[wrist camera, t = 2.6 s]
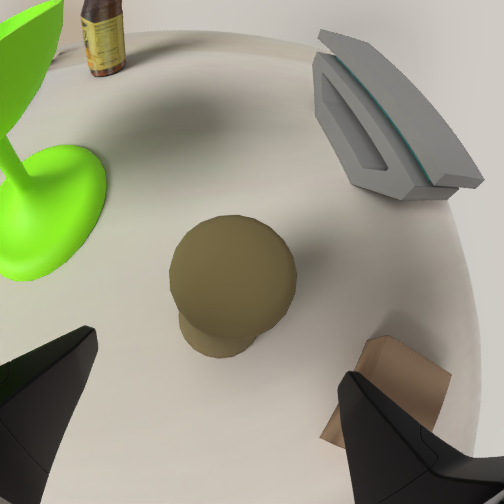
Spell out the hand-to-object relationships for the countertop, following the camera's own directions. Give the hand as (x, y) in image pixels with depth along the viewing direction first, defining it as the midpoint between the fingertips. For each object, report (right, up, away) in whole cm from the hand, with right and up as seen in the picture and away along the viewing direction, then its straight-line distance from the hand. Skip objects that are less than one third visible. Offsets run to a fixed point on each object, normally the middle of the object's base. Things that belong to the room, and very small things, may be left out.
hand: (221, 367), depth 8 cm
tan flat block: (+12, -9, +10) cm, 18 cm away
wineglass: (-20, +8, +12) cm, 25 cm away
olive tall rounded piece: (-1, -1, +11) cm, 11 cm away
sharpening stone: (+14, +17, +22) cm, 31 cm away
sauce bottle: (-22, +33, +23) cm, 45 cm away
